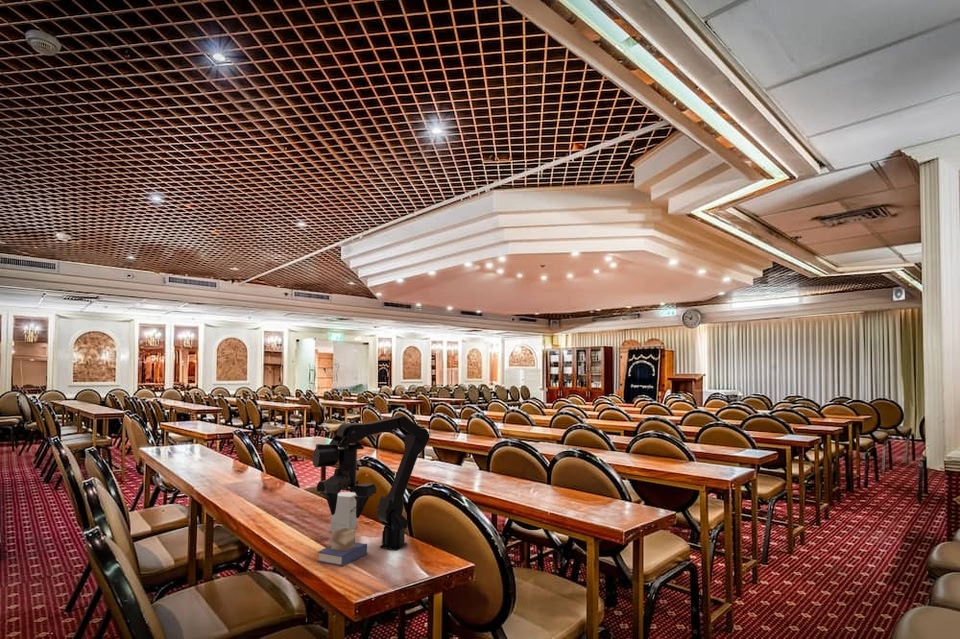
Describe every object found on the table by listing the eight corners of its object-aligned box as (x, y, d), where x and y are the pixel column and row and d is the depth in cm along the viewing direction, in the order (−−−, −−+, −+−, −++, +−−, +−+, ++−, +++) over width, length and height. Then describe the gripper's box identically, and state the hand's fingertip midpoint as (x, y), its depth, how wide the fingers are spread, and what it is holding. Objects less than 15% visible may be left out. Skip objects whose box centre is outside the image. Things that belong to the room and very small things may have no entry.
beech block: (355, 546, 158) (355, 529, 158) (344, 551, 153) (345, 533, 154) (341, 544, 160) (342, 527, 160) (331, 548, 155) (332, 531, 156)
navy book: (366, 554, 160) (367, 544, 160) (342, 566, 149) (342, 555, 149) (343, 550, 163) (343, 540, 164) (317, 562, 152) (318, 551, 153)
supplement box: (348, 533, 181) (350, 496, 182) (329, 532, 182) (331, 495, 184) (357, 528, 188) (359, 492, 189) (339, 526, 189) (340, 491, 191)
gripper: (305, 466, 157) (303, 519, 155) (356, 470, 150) (354, 526, 148) (329, 461, 167) (327, 510, 165) (378, 465, 160) (376, 517, 158)
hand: (345, 516), depth 159 cm, fingers open, 9 cm apart
